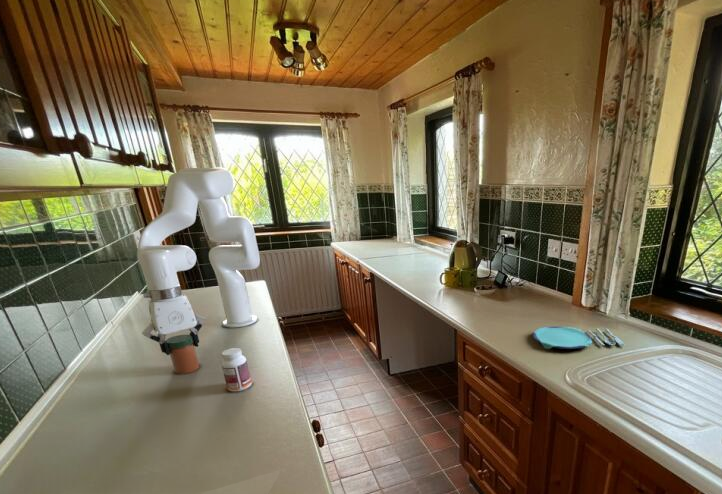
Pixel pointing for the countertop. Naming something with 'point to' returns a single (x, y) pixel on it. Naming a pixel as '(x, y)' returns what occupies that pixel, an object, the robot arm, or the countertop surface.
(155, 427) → the countertop surface
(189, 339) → the jar lid
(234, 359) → the pill bottle
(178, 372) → the jam jar
